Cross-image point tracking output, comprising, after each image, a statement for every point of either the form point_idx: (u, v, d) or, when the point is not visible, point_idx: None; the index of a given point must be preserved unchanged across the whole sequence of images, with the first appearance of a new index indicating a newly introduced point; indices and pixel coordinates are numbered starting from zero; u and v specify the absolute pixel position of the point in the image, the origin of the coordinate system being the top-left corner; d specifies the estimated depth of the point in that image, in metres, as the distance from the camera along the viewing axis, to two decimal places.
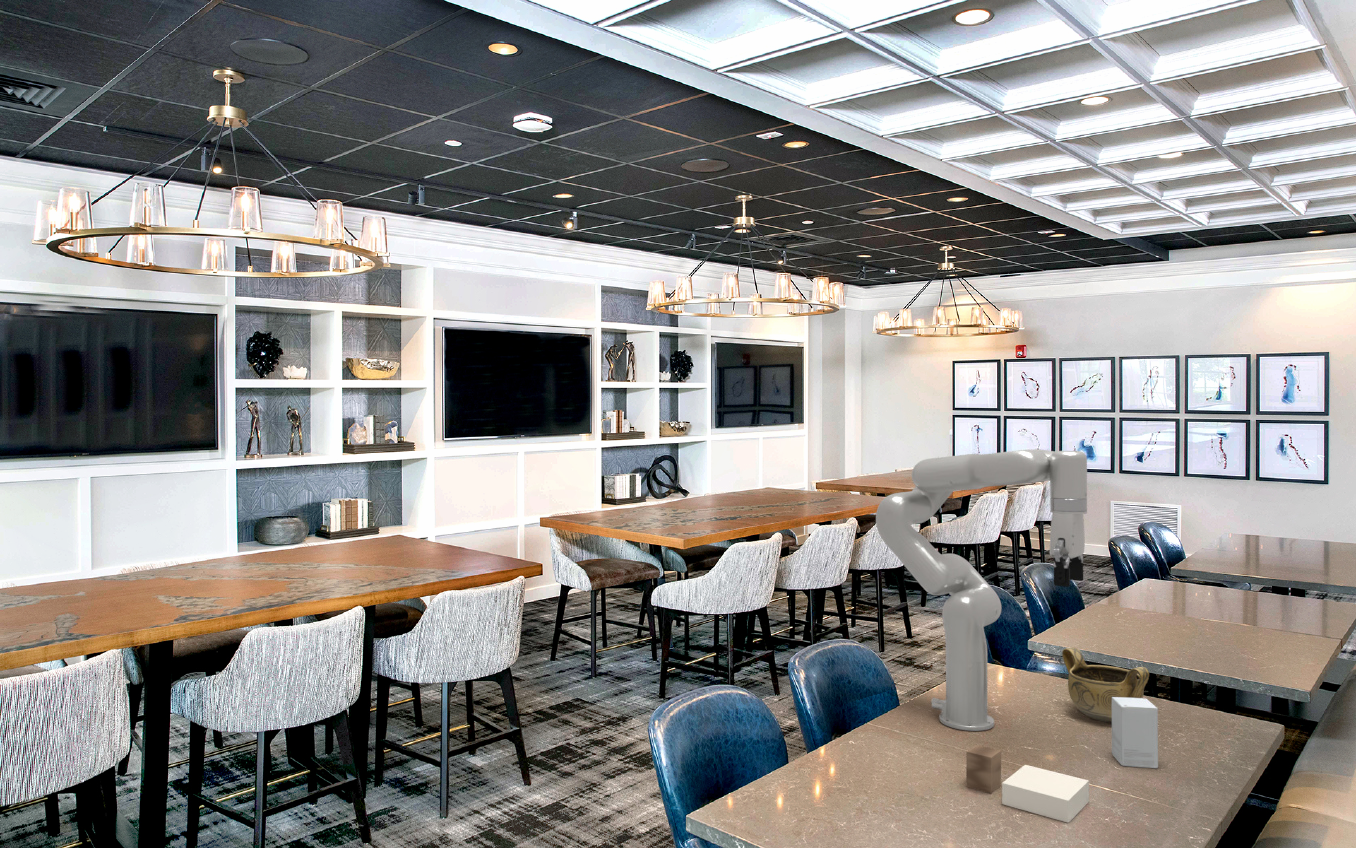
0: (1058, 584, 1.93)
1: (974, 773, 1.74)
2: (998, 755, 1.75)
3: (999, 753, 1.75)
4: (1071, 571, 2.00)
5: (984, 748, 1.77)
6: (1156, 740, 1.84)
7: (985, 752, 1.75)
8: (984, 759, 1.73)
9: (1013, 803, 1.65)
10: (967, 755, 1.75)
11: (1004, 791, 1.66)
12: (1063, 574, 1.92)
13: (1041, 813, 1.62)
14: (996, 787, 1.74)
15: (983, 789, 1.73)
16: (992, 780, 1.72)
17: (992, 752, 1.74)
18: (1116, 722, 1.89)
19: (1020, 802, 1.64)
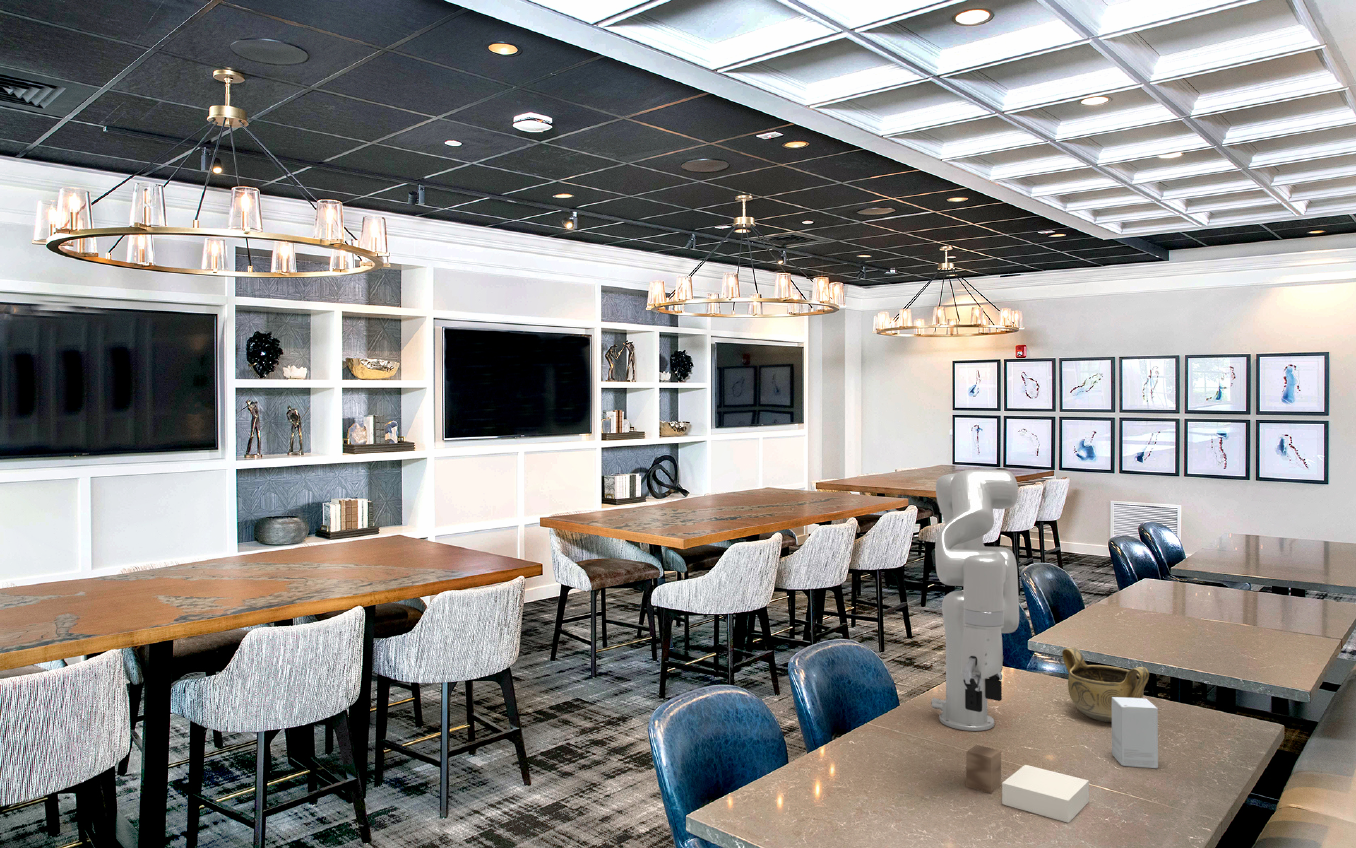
0: (970, 708, 1.71)
1: (974, 773, 1.74)
2: (998, 755, 1.75)
3: (999, 753, 1.75)
4: (988, 689, 1.79)
5: (984, 748, 1.77)
6: (1156, 740, 1.84)
7: (985, 752, 1.75)
8: (984, 759, 1.73)
9: (1013, 803, 1.65)
10: (967, 755, 1.75)
11: (1004, 791, 1.66)
12: (975, 697, 1.70)
13: (1041, 813, 1.62)
14: (996, 787, 1.74)
15: (983, 789, 1.73)
16: (992, 780, 1.72)
17: (992, 752, 1.74)
18: (1116, 722, 1.89)
19: (1020, 802, 1.64)
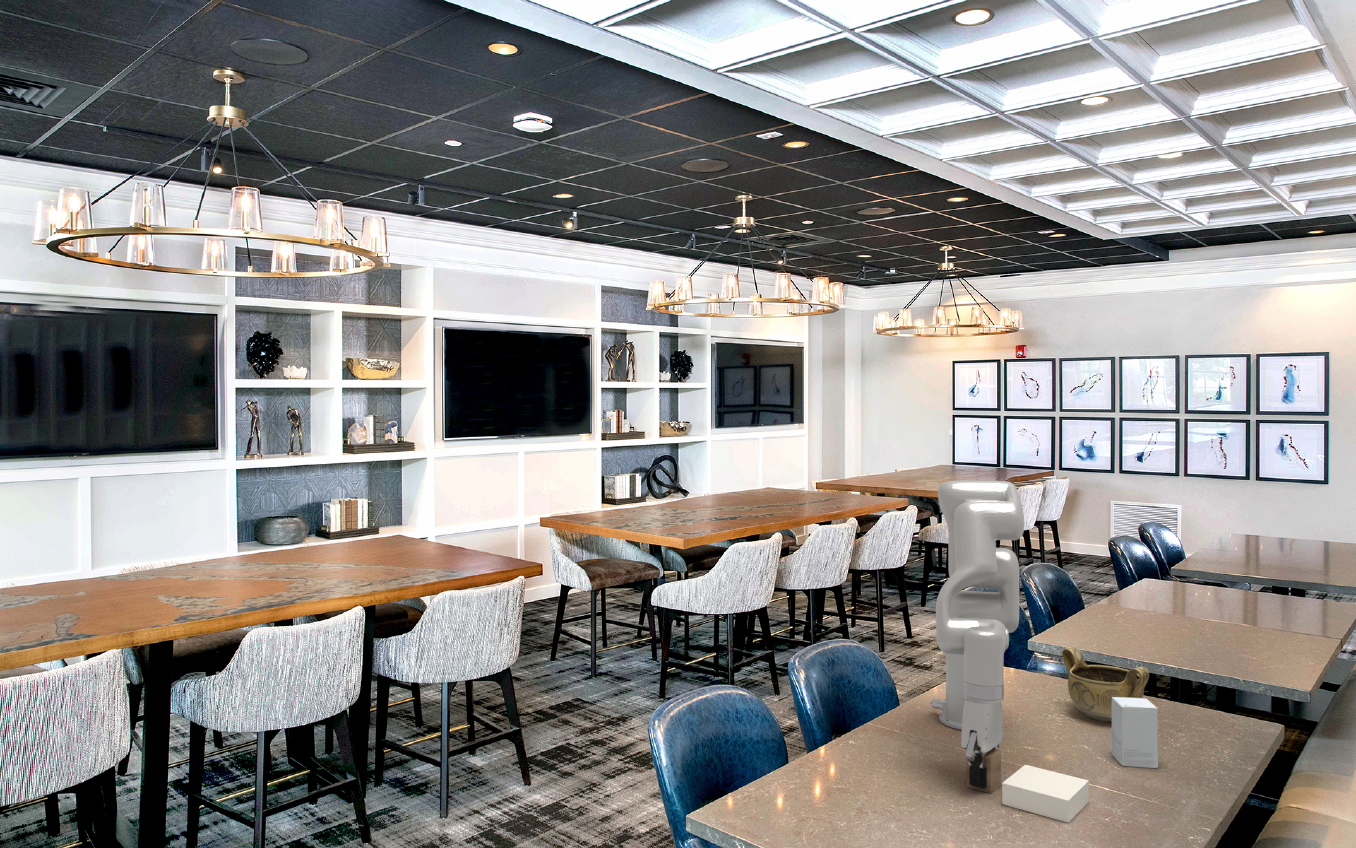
0: (974, 784, 1.73)
1: None
2: (998, 754, 1.75)
3: (999, 753, 1.75)
4: None
5: None
6: (1156, 740, 1.84)
7: None
8: None
9: (1013, 803, 1.65)
10: None
11: (1004, 791, 1.66)
12: (979, 774, 1.72)
13: (1041, 813, 1.62)
14: (996, 787, 1.74)
15: (983, 789, 1.73)
16: (992, 780, 1.72)
17: (992, 752, 1.74)
18: (1116, 722, 1.89)
19: (1020, 802, 1.64)
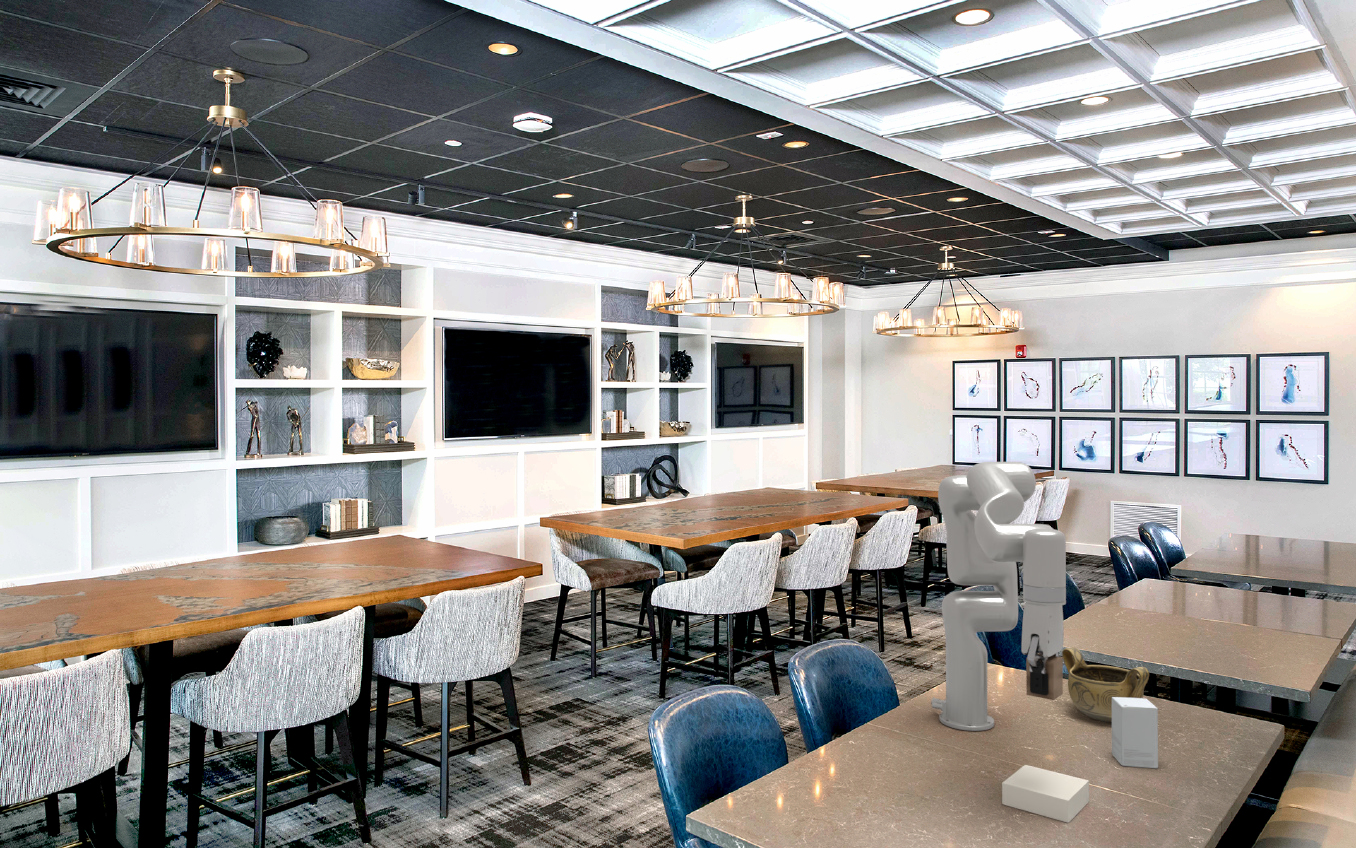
0: (1035, 691, 1.66)
1: None
2: (1060, 661, 1.67)
3: (1061, 659, 1.67)
4: None
5: None
6: (1156, 740, 1.84)
7: None
8: None
9: (1013, 803, 1.65)
10: (1027, 661, 1.67)
11: (1004, 791, 1.66)
12: (1041, 680, 1.64)
13: (1041, 813, 1.62)
14: (1058, 694, 1.66)
15: (1045, 696, 1.65)
16: (1054, 686, 1.64)
17: (1054, 658, 1.67)
18: (1116, 722, 1.89)
19: (1020, 802, 1.64)
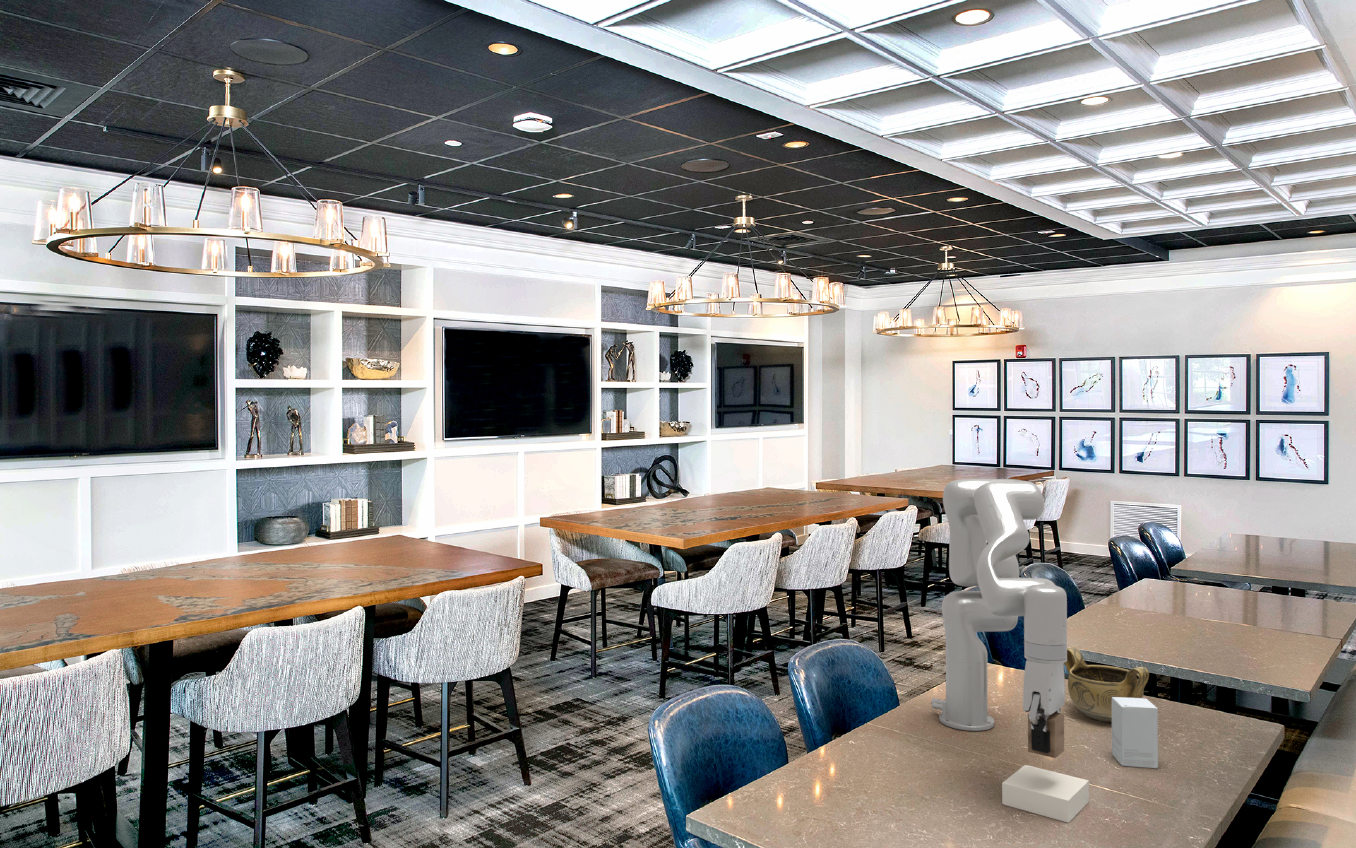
0: (1036, 749, 1.65)
1: None
2: (1062, 718, 1.67)
3: (1062, 716, 1.67)
4: None
5: None
6: (1156, 740, 1.84)
7: None
8: None
9: (1013, 803, 1.65)
10: None
11: (1004, 791, 1.66)
12: (1042, 738, 1.64)
13: (1041, 813, 1.62)
14: (1060, 752, 1.66)
15: (1046, 754, 1.65)
16: (1056, 744, 1.64)
17: (1055, 716, 1.66)
18: (1116, 722, 1.89)
19: (1020, 802, 1.64)
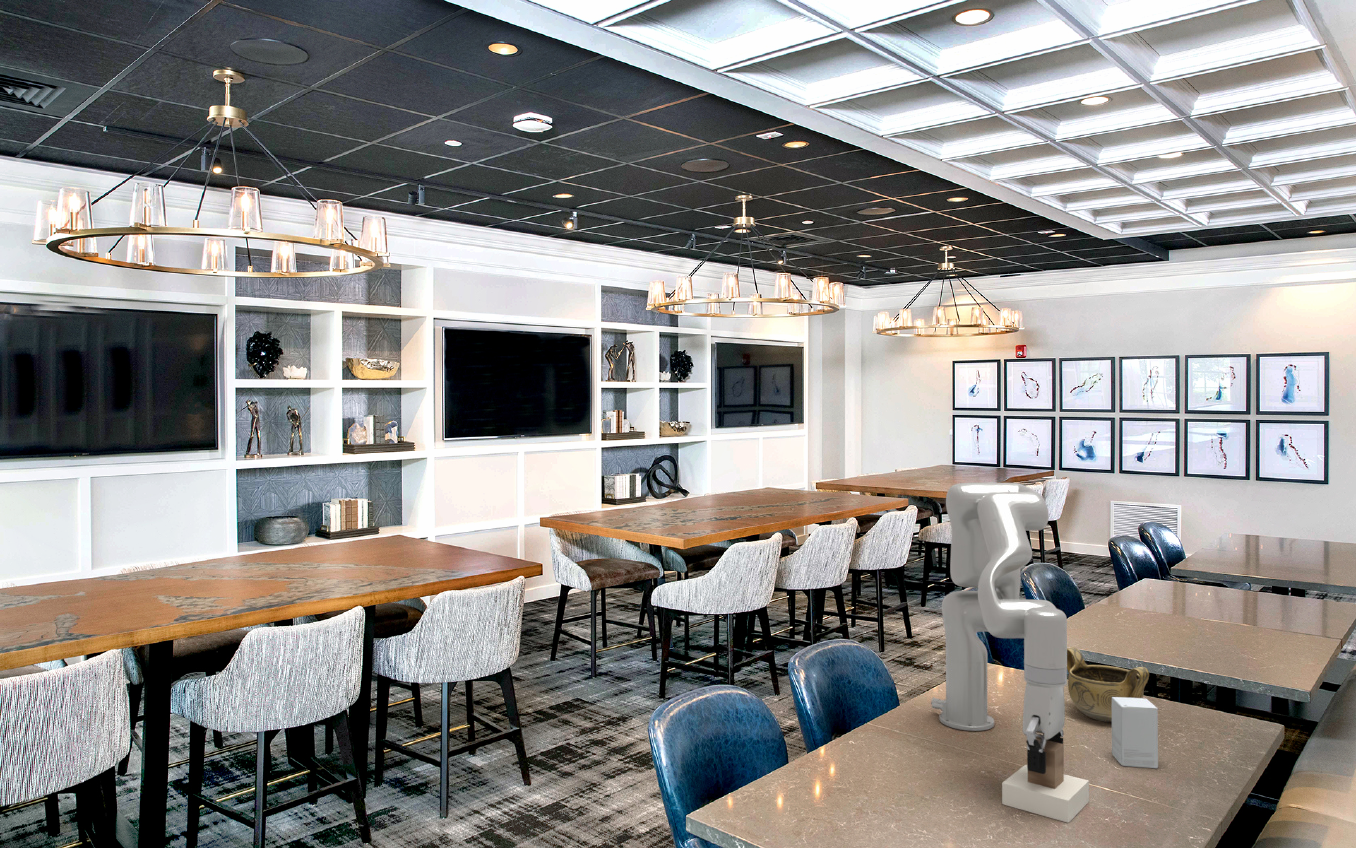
0: (1032, 769, 1.64)
1: None
2: (1061, 748, 1.67)
3: (1062, 747, 1.67)
4: None
5: None
6: (1156, 740, 1.84)
7: (1047, 745, 1.67)
8: (1047, 753, 1.65)
9: (1013, 803, 1.65)
10: None
11: (1004, 791, 1.66)
12: (1038, 759, 1.62)
13: (1041, 813, 1.62)
14: (1059, 782, 1.66)
15: (1046, 784, 1.65)
16: (1056, 775, 1.64)
17: (1055, 746, 1.66)
18: (1116, 722, 1.89)
19: (1020, 802, 1.64)
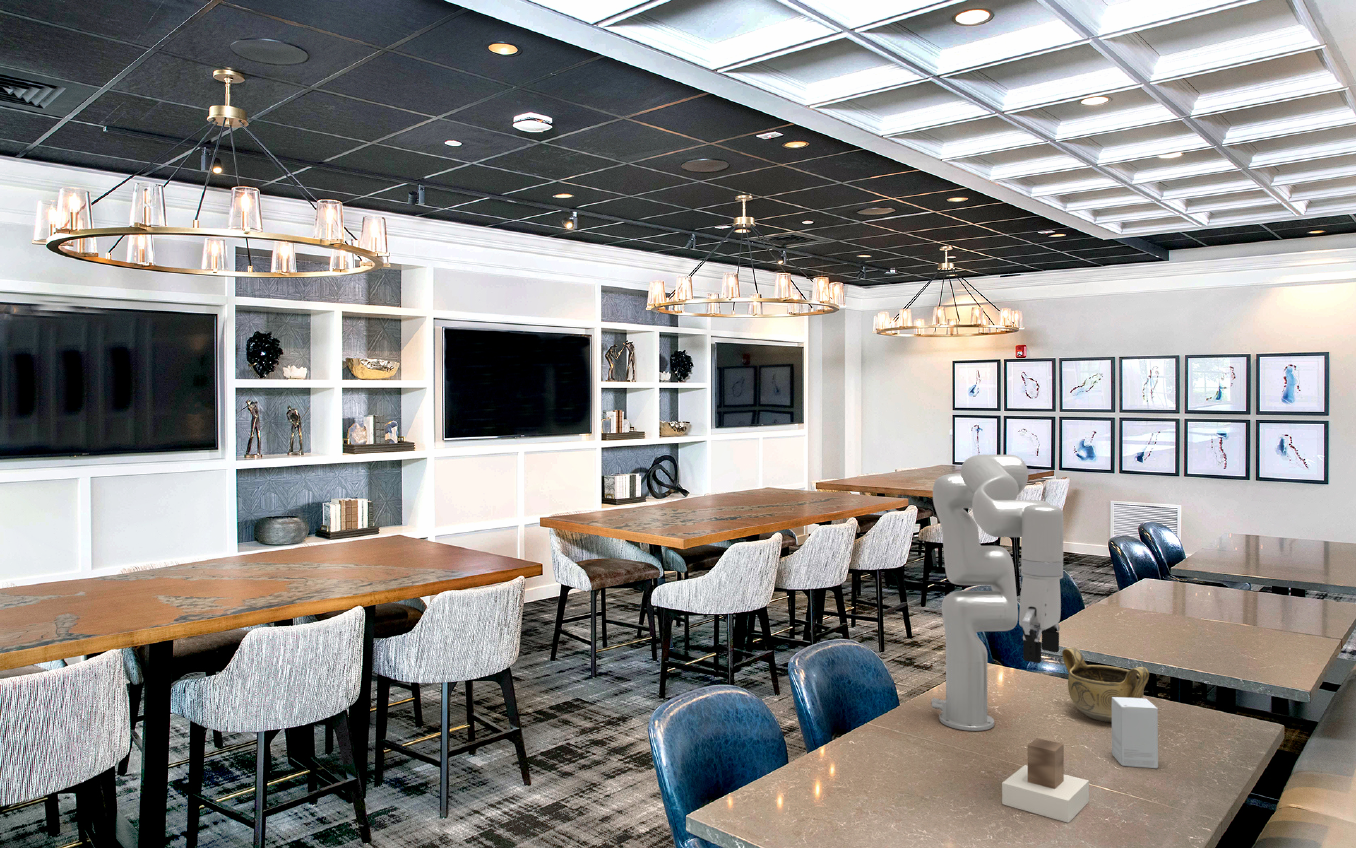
0: (1028, 659, 1.68)
1: (1036, 767, 1.66)
2: (1061, 748, 1.67)
3: (1062, 747, 1.67)
4: (1045, 641, 1.76)
5: (1045, 741, 1.69)
6: (1156, 740, 1.84)
7: (1047, 745, 1.67)
8: (1047, 753, 1.65)
9: (1013, 803, 1.65)
10: (1028, 749, 1.67)
11: (1004, 791, 1.66)
12: (1034, 648, 1.67)
13: (1041, 813, 1.62)
14: (1059, 782, 1.66)
15: (1046, 784, 1.65)
16: (1056, 775, 1.64)
17: (1055, 746, 1.66)
18: (1116, 722, 1.89)
19: (1020, 802, 1.64)
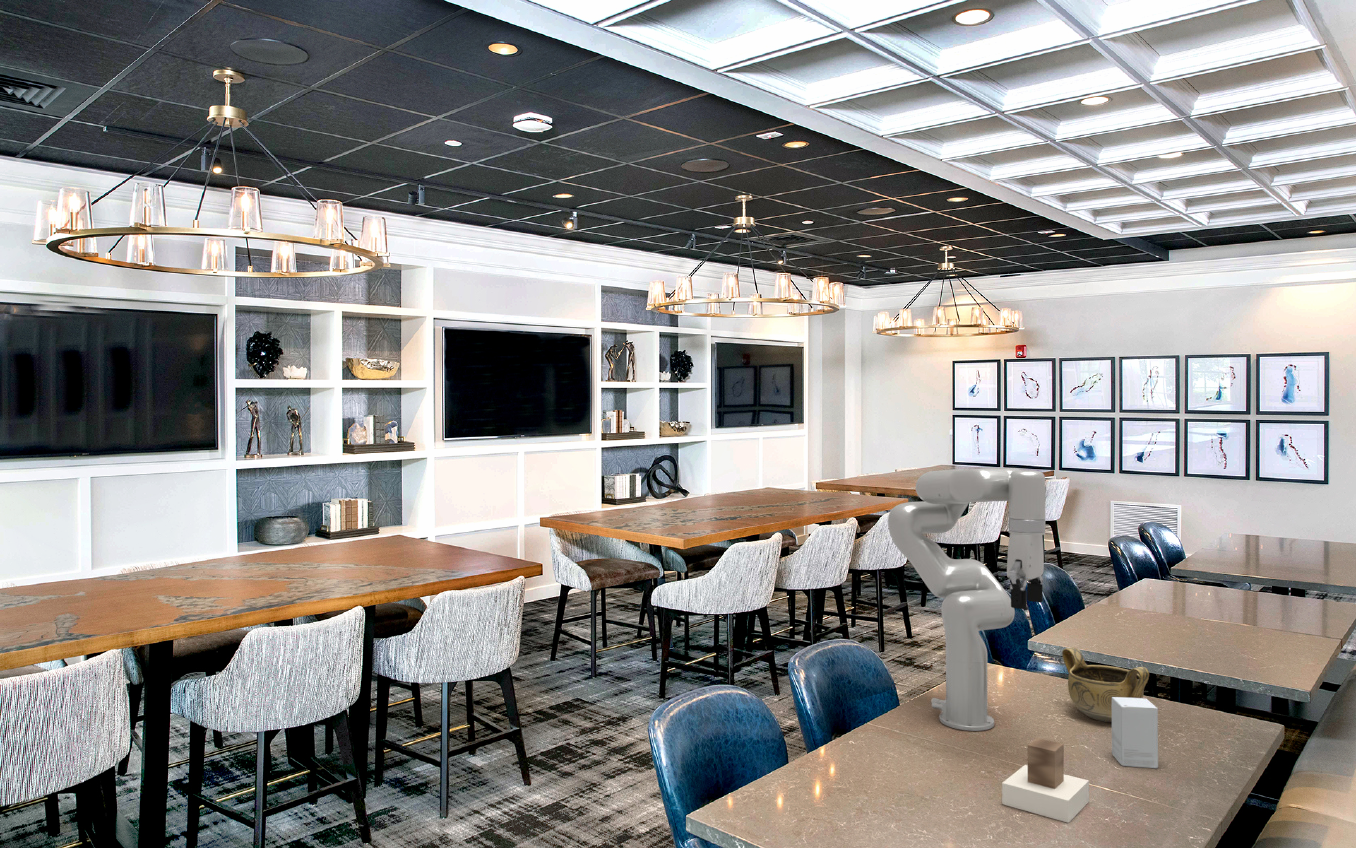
0: (1015, 606, 1.90)
1: (1036, 767, 1.66)
2: (1061, 748, 1.67)
3: (1062, 747, 1.67)
4: (1030, 592, 1.97)
5: (1045, 741, 1.69)
6: (1156, 740, 1.84)
7: (1047, 745, 1.67)
8: (1047, 753, 1.65)
9: (1013, 803, 1.65)
10: (1028, 749, 1.67)
11: (1004, 791, 1.66)
12: (1020, 596, 1.88)
13: (1041, 813, 1.62)
14: (1059, 782, 1.66)
15: (1046, 784, 1.65)
16: (1056, 775, 1.64)
17: (1055, 746, 1.66)
18: (1116, 722, 1.89)
19: (1020, 802, 1.64)
